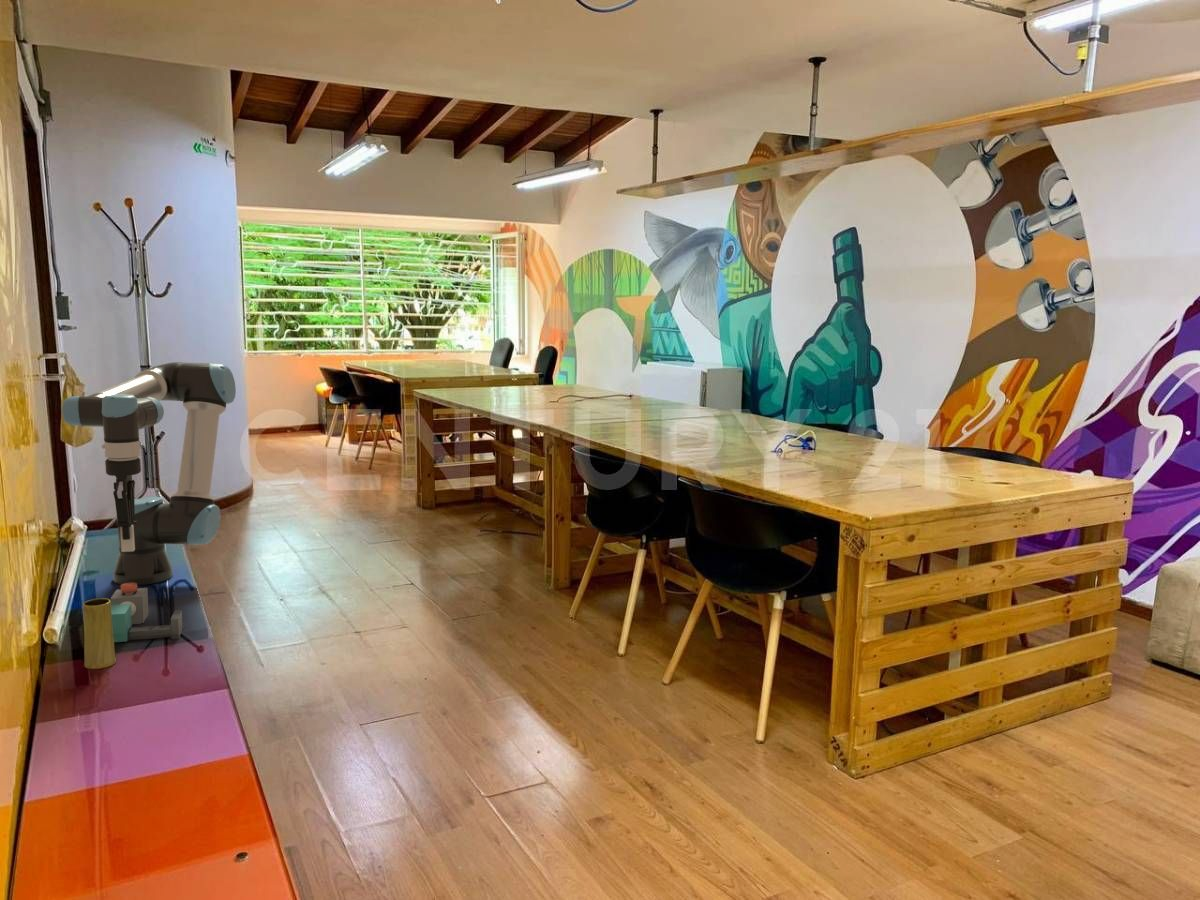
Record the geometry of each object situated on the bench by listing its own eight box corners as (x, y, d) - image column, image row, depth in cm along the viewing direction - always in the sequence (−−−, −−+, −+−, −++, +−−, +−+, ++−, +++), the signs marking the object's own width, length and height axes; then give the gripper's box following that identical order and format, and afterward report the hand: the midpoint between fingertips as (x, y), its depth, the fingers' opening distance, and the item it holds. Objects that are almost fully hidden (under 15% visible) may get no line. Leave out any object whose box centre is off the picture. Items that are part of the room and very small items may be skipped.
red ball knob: (123, 602, 214) (122, 582, 213) (139, 601, 215) (138, 582, 214) (120, 607, 210) (119, 587, 210) (136, 606, 212) (135, 586, 211)
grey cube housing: (117, 616, 215) (116, 589, 214) (148, 614, 218) (147, 587, 217) (111, 626, 209) (110, 598, 208) (143, 623, 211) (142, 596, 210)
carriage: (97, 644, 197) (95, 615, 195) (104, 633, 203) (102, 605, 202) (126, 642, 198) (125, 613, 197) (132, 631, 205) (130, 603, 204)
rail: (87, 645, 196) (86, 625, 196) (93, 636, 202) (92, 616, 201) (178, 638, 203) (178, 618, 202) (182, 629, 208) (181, 610, 207)
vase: (78, 665, 186) (74, 603, 183) (105, 656, 191) (102, 595, 189) (95, 671, 183) (91, 608, 181) (122, 662, 188) (119, 600, 186)
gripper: (111, 453, 212) (116, 544, 216) (99, 463, 200) (105, 559, 204) (144, 452, 214) (149, 542, 218) (134, 462, 202) (140, 557, 206)
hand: (128, 550), depth 211 cm, fingers closed
